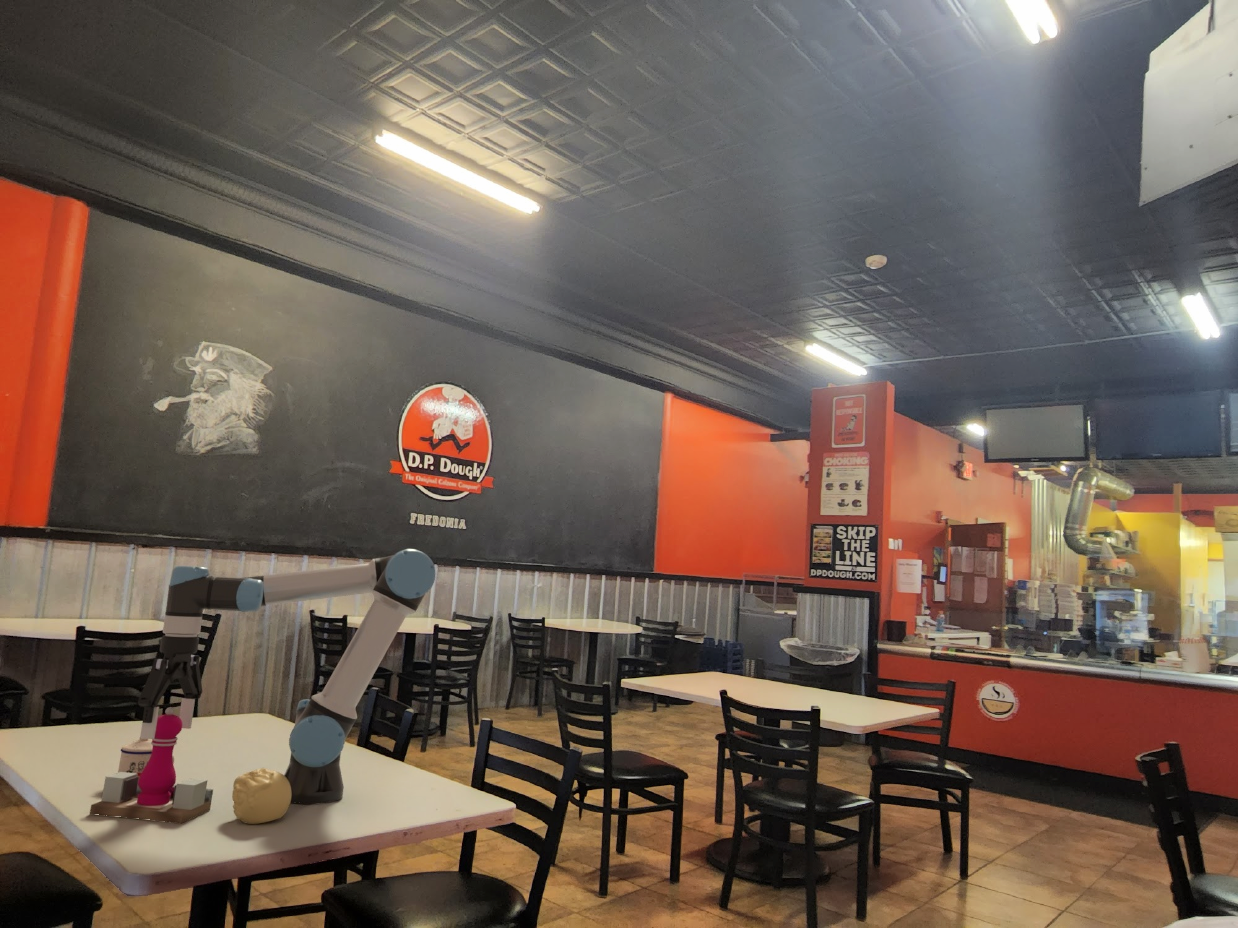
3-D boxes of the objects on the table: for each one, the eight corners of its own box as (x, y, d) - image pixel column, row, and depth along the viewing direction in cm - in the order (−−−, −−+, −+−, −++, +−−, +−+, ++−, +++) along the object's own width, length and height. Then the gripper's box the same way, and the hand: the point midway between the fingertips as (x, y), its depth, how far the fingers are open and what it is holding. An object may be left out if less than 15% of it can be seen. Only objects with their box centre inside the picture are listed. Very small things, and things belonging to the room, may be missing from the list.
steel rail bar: (211, 800, 179) (213, 789, 180) (208, 801, 178) (210, 790, 179) (125, 792, 181) (127, 780, 181) (122, 793, 179) (124, 782, 180)
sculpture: (220, 816, 175) (228, 765, 177) (275, 810, 183) (282, 760, 185) (239, 830, 167) (247, 776, 168) (296, 822, 175) (303, 771, 177)
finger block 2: (203, 803, 176) (207, 780, 177) (190, 809, 171) (194, 785, 172) (183, 801, 177) (187, 778, 177) (170, 807, 172) (174, 783, 173)
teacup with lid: (118, 791, 187) (127, 740, 189) (110, 783, 194) (119, 733, 196) (174, 787, 195) (182, 737, 197) (165, 778, 202) (173, 730, 204)
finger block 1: (136, 797, 177) (140, 773, 178) (121, 802, 172) (125, 778, 173) (116, 795, 177) (120, 771, 178) (101, 800, 173) (105, 776, 173)
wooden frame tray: (210, 809, 179) (211, 800, 179) (180, 823, 168) (182, 813, 168) (124, 801, 180) (125, 791, 181) (89, 814, 169) (91, 804, 170)
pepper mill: (142, 808, 170) (160, 710, 173) (128, 800, 174) (146, 705, 177) (177, 803, 175) (194, 708, 178) (163, 795, 180) (179, 704, 183)
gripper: (196, 631, 193) (182, 722, 189) (129, 636, 168) (112, 741, 165) (226, 633, 193) (213, 725, 189) (163, 638, 168) (147, 744, 164)
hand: (166, 733), depth 177 cm, fingers open, 13 cm apart
